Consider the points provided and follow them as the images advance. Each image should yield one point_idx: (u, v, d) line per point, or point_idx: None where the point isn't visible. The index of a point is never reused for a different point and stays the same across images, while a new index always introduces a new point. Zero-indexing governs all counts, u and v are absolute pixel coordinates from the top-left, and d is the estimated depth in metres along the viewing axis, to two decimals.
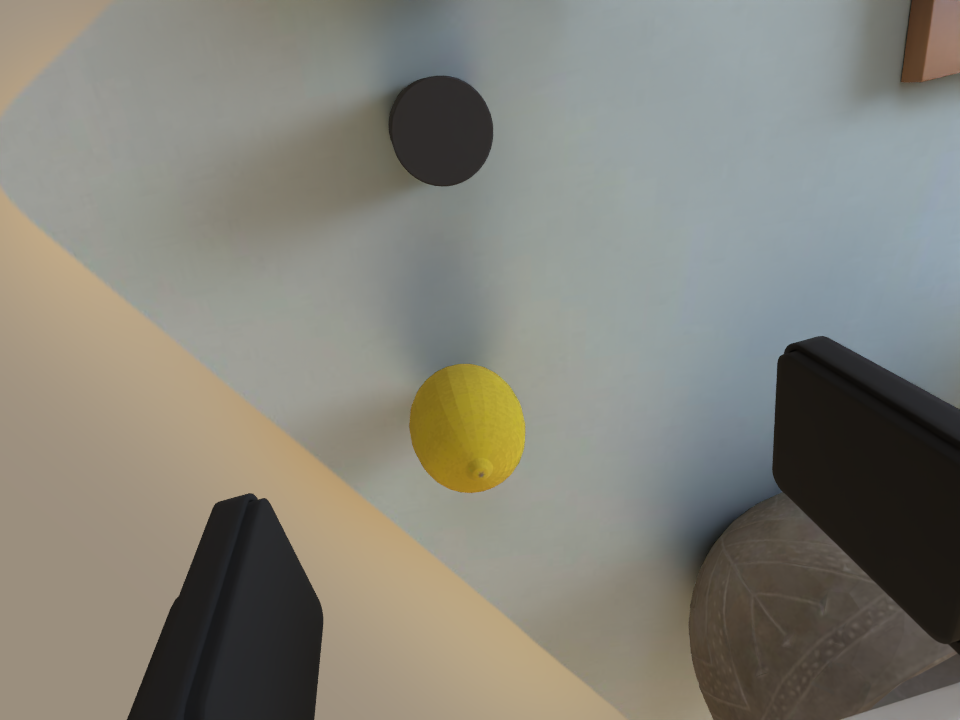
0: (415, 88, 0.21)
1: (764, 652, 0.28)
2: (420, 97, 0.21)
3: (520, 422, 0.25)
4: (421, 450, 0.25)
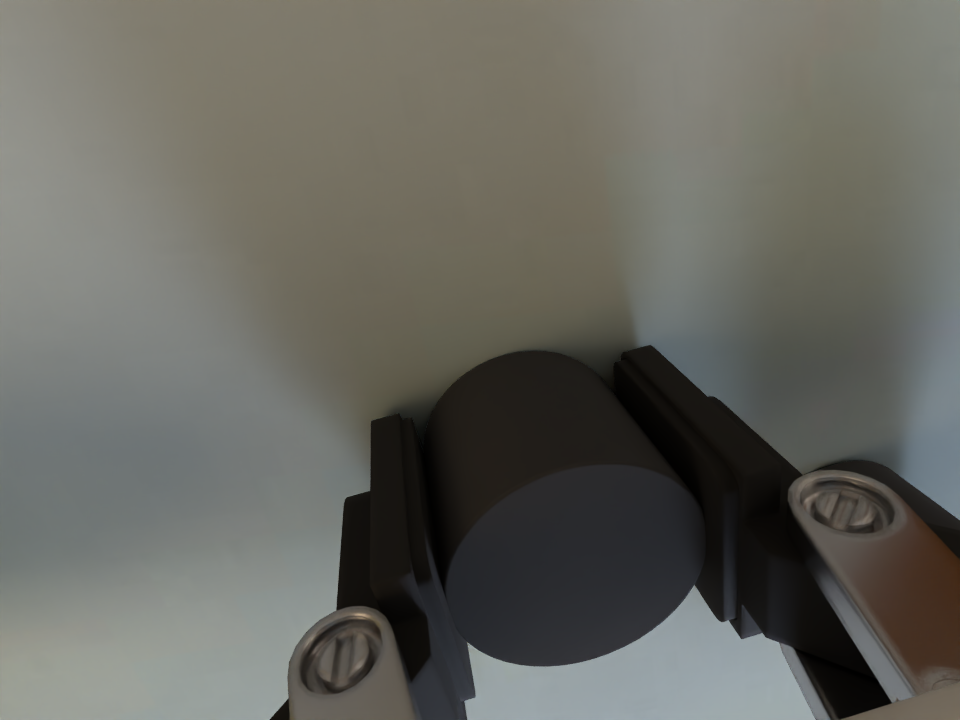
0: (693, 509, 0.08)
1: None
2: (670, 521, 0.08)
3: None
4: None
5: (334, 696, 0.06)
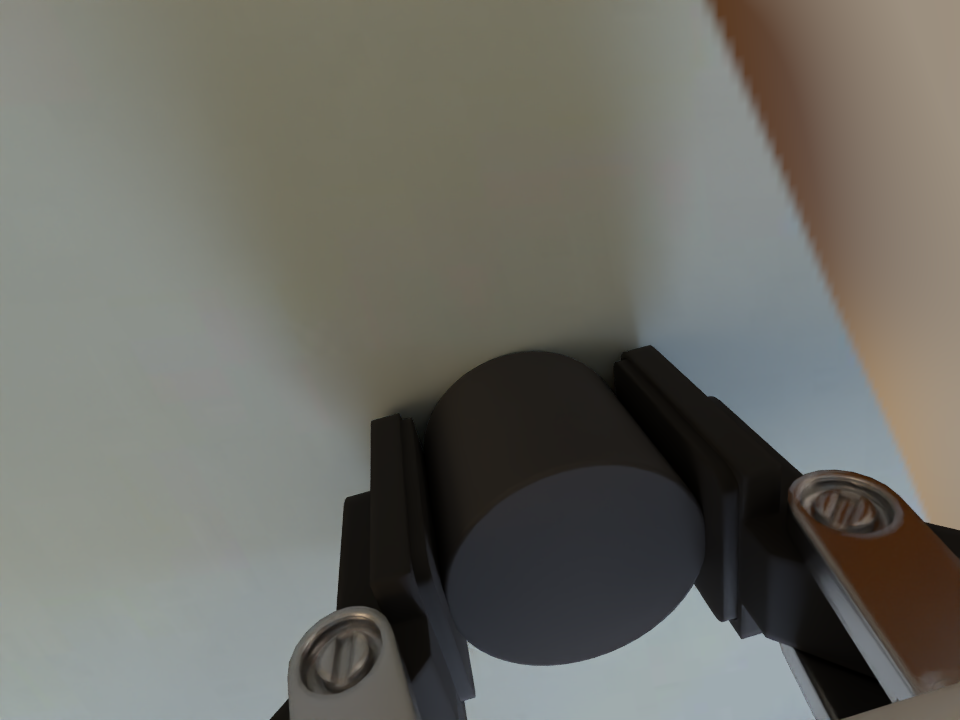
0: None
1: None
2: None
3: None
4: None
5: (334, 696, 0.06)
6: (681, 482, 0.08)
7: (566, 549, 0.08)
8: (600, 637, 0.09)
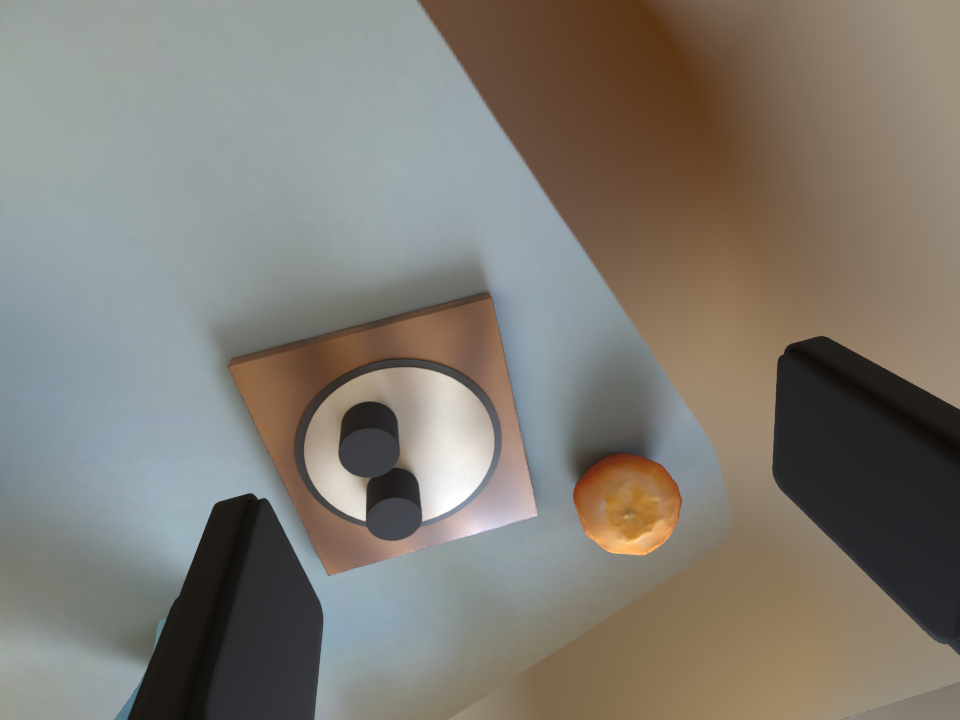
0: (392, 438, 0.37)
1: None
2: (388, 441, 0.37)
3: None
4: None
5: None
6: (412, 501, 0.39)
7: (390, 514, 0.39)
8: (402, 534, 0.40)
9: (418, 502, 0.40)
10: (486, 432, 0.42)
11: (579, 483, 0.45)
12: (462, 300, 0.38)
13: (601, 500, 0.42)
